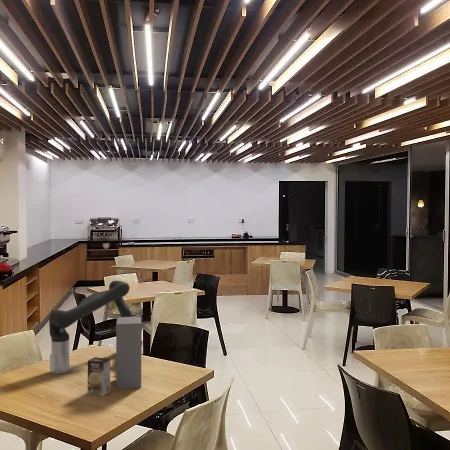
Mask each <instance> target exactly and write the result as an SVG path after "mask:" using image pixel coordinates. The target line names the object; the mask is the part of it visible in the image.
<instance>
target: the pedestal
mask: <svg viewBox="0 0 450 450" xmlns="http://www.w3.org/2000/svg"><path fill="white" fill-rule="evenodd" d="M115 328H116V329H115V331H116V333H115V337H116V339H115V341H116V343H115V345H116V348H115V349H116V350H115V354H116V356H115V357H116V360H115V361H116V362H115V363H116V364H115V366H116V367H115V371H116V372H115V375H116V376H115V377H116V380H115V381H116V382H115V383H116V390H123V389H124V390H125V389H126V390H127V389H129V390H130V389H131V390H132V389H141V388H142V346H141V341H142V316H133V317H121V316H120V317H117V320H116V325H115Z"/></svg>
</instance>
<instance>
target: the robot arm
mask: <svg viewBox="0 0 450 450" xmlns="http://www.w3.org/2000/svg"><path fill="white" fill-rule="evenodd" d="M129 291H130V285H129V283H127V282H126V281H123V280H112V281H111V282H110V283H109V285H108V290H103V291H99V292H95V293H92V294H90V295H88V296H85V297H84V298H83V299H82V300H81V301H80V302H79V304H78V305H76V306H75V307H73V308H71V309H68V310H61V309H56V310H53V311H52V312H51V314H50V316H49V320H48V322H49V323H48V324H49V326H48V327H49V336H50V339H51V354H49V372H50V373H51V374H53V375H62V374H66V373H69V372H70V334H69V333H68V332H67V330H66V328H68V327H70V326H71V325H73V324H75V323H76V322H78V321H79V320H80V319H82V318H83V317H86V316H88V315H90V314H91V313H93V312H95V311H97V310H99V309H101V308H103V307H104V306H106V305H108V304H110V303H111V302H113V301H114V304H115V306H116V307H117V310H118V312H119V316H120V317H134V316H133V313H132V310H131V309H130V307H129V305H128V304H127V302H126V301H125V300H124V297H126V295H128V293H130V292H129ZM143 343H144V342H143V340H141V347H143V346H144V345H143Z"/></svg>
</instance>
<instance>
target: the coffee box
mask: <svg viewBox="0 0 450 450" xmlns="http://www.w3.org/2000/svg"><path fill="white" fill-rule="evenodd" d="M110 392H111V358H105V357H104V358H103V357H97V356H95V357H94V356H93V358H90V359H89V360H87V394H88V395H92V396H99V397H104V396H106V395H107V394H109V393H110Z"/></svg>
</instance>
